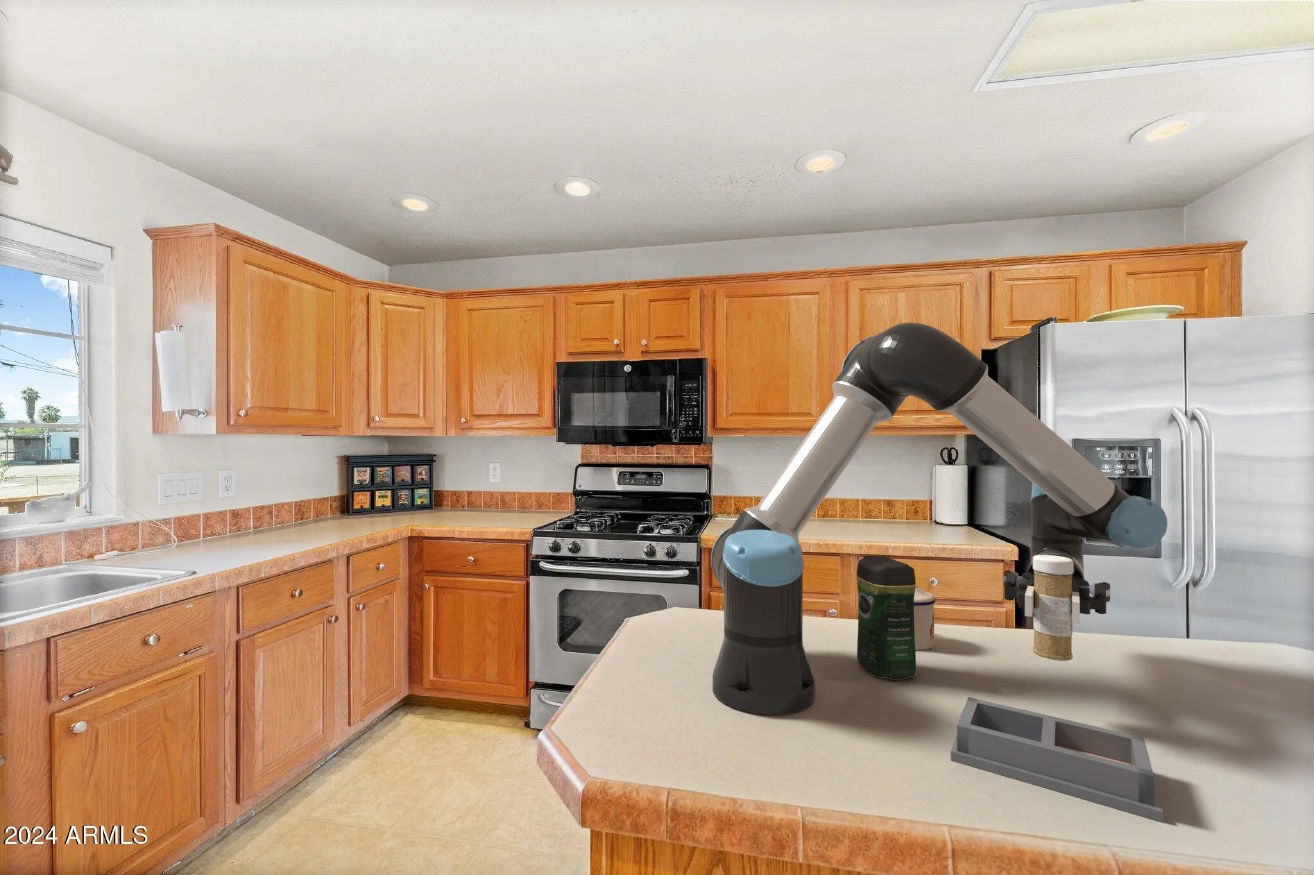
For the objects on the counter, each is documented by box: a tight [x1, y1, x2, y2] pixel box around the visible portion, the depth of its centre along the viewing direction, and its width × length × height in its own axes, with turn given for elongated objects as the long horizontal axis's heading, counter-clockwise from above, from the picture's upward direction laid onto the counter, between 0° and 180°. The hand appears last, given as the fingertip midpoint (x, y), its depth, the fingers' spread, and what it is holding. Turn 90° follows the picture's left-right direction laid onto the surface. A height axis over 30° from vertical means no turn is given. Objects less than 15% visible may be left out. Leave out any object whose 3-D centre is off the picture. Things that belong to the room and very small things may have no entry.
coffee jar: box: [856, 555, 917, 681], centre depth 94 cm, size 10×8×19 cm
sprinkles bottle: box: [1032, 555, 1074, 662], centre depth 77 cm, size 5×5×14 cm
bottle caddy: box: [950, 696, 1164, 823], centre depth 66 cm, size 19×11×4 cm, turn 54°
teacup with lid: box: [914, 585, 936, 651], centre depth 109 cm, size 12×9×12 cm
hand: (1051, 609), depth 73 cm, fingers closed on sprinkles bottle, 4 cm apart
